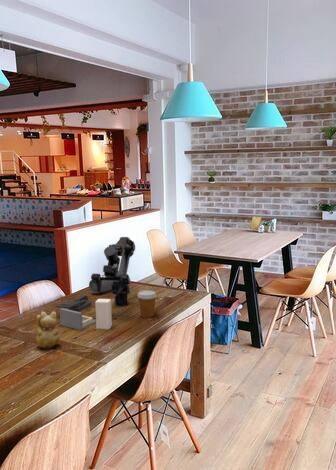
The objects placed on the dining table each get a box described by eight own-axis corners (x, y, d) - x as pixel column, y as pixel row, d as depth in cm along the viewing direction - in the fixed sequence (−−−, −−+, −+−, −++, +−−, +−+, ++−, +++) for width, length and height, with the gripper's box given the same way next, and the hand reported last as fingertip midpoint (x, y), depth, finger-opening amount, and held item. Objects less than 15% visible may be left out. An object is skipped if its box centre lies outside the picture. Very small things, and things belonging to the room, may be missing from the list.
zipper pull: (53, 305, 211) (78, 290, 235) (54, 317, 212) (79, 302, 236) (68, 307, 208) (93, 292, 232) (69, 319, 210) (93, 303, 233)
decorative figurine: (60, 341, 183) (58, 308, 181) (59, 349, 175) (57, 315, 173) (37, 343, 182) (35, 310, 179) (35, 352, 174) (32, 317, 171)
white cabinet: (100, 324, 203) (99, 298, 201) (112, 324, 202) (111, 298, 200) (96, 328, 197) (95, 302, 195) (108, 329, 197) (107, 302, 194)
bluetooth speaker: (114, 284, 269) (113, 269, 267) (125, 287, 263) (125, 271, 262) (88, 294, 251) (87, 277, 249) (99, 296, 245) (99, 280, 244)
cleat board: (76, 317, 212) (75, 302, 210) (96, 322, 205) (95, 306, 204) (60, 324, 203) (59, 308, 201) (80, 330, 196) (79, 313, 194)
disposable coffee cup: (160, 315, 214) (160, 292, 212) (147, 320, 207) (146, 296, 205) (147, 310, 220) (147, 288, 218) (134, 315, 214) (133, 292, 212)
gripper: (91, 257, 209) (84, 285, 200) (128, 258, 206) (123, 286, 197) (96, 269, 218) (90, 296, 209) (132, 270, 215) (127, 297, 206)
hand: (107, 294), depth 205 cm, fingers open, 9 cm apart
